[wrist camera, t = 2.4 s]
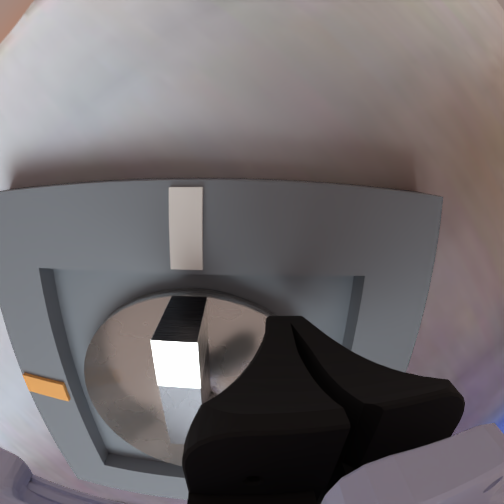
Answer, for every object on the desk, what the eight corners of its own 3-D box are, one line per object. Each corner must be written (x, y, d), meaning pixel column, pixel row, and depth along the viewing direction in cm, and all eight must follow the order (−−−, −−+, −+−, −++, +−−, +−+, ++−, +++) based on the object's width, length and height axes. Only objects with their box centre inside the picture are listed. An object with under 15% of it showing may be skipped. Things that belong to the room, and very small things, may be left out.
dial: (300, 457, 16) (311, 509, 12) (117, 448, 16) (101, 496, 11) (331, 288, 13) (369, 339, 9) (69, 281, 12) (19, 322, 8)
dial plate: (345, 470, 19) (352, 493, 16) (85, 459, 18) (77, 480, 15) (417, 191, 13) (446, 197, 11) (9, 189, 12) (-20, 195, 10)
